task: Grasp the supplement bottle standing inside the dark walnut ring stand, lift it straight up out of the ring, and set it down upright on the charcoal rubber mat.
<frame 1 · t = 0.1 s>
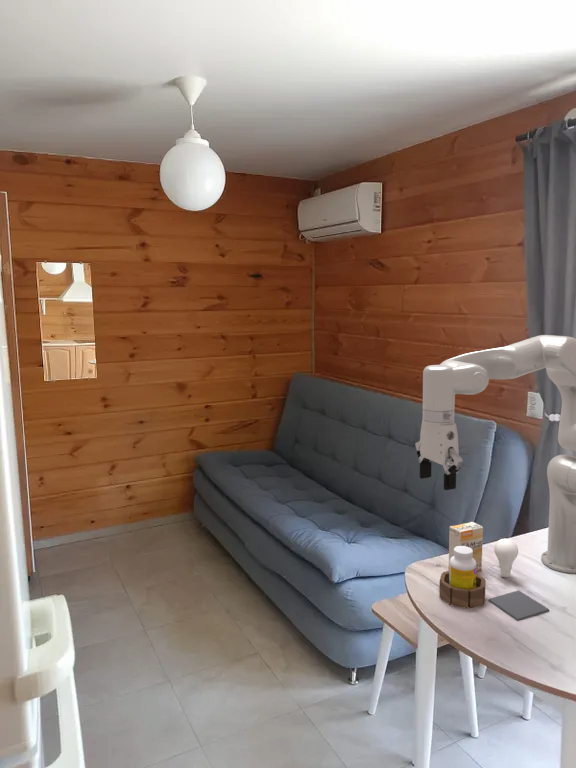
hand: (437, 483, 143), 31 cm above the table, tool pointing down, fingers open, 9 cm apart
supplement box: (465, 570, 163), on the table
lightbulb: (505, 578, 158), on the table
ring stand: (462, 596, 149), on the table
supplement bottle: (462, 597, 149), resting in ring stand
mat: (518, 605, 144), on the table
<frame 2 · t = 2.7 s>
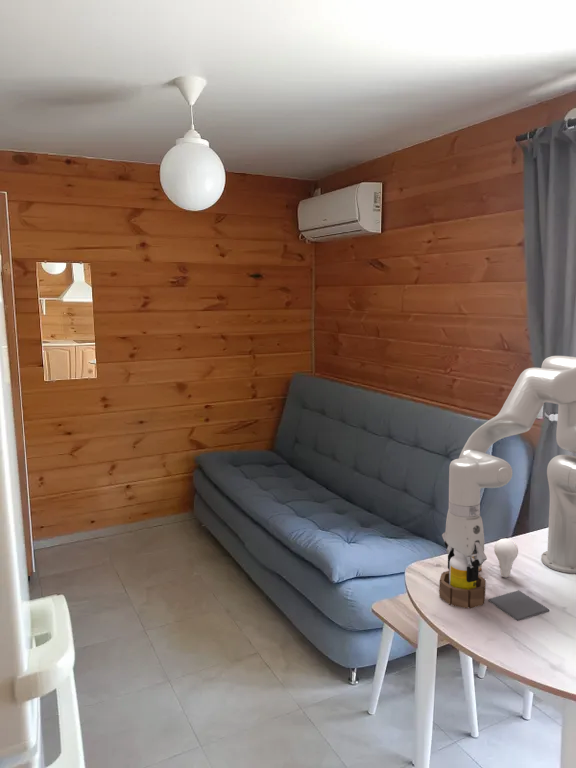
hand: (462, 573, 148), 6 cm above the table, tool pointing down, fingers closed on supplement bottle, 6 cm apart
supplement bottle: (462, 597, 149), resting in ring stand, touching gripper
everything else where it was.
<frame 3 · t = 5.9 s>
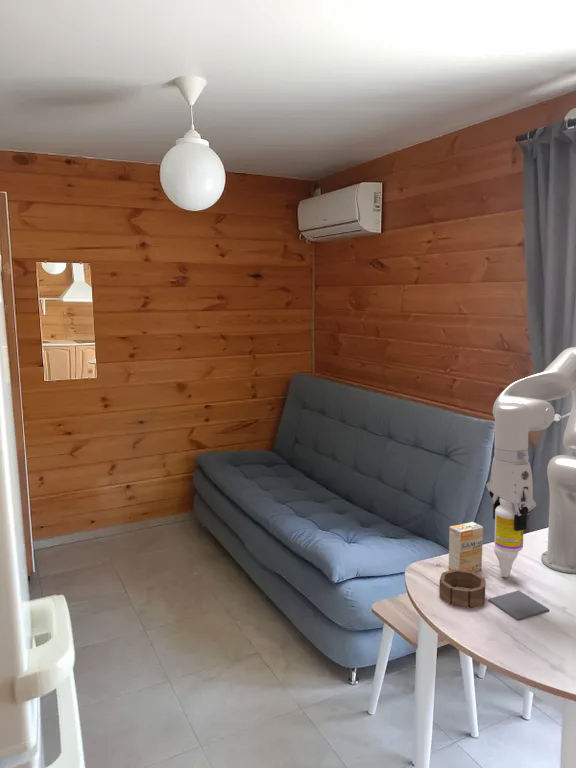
hand: (509, 523, 142), 21 cm above the table, tool pointing down, fingers closed on supplement bottle, 6 cm apart
supplement bottle: (508, 547, 143), point 15 cm above the table, touching gripper
everything else where it was.
when the fingers open (9 cm above the table, at t = 9.1 s): supplement bottle drops 2 cm, resting on mat.
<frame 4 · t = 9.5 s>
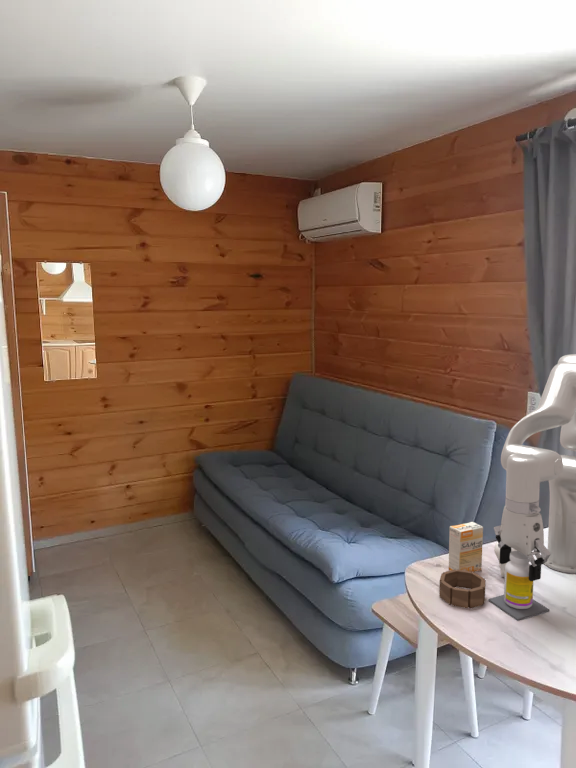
hand: (519, 570, 142), 9 cm above the table, tool pointing down, fingers open, 9 cm apart
supplement bottle: (518, 603, 144), resting on mat
everything else where it was.
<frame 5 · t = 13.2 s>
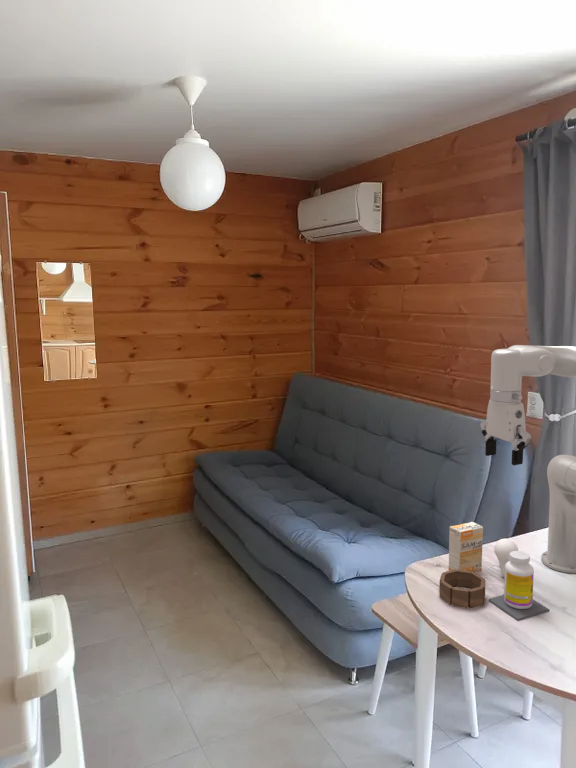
hand: (503, 459, 153), 33 cm above the table, tool pointing down, fingers open, 9 cm apart
nothing on the table moved.
at the end: supplement bottle 0.4 cm off-centre on the mat, point 0.3 cm above the mat's base; supplement bottle tilted 0°; the gripper is holding nothing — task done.
